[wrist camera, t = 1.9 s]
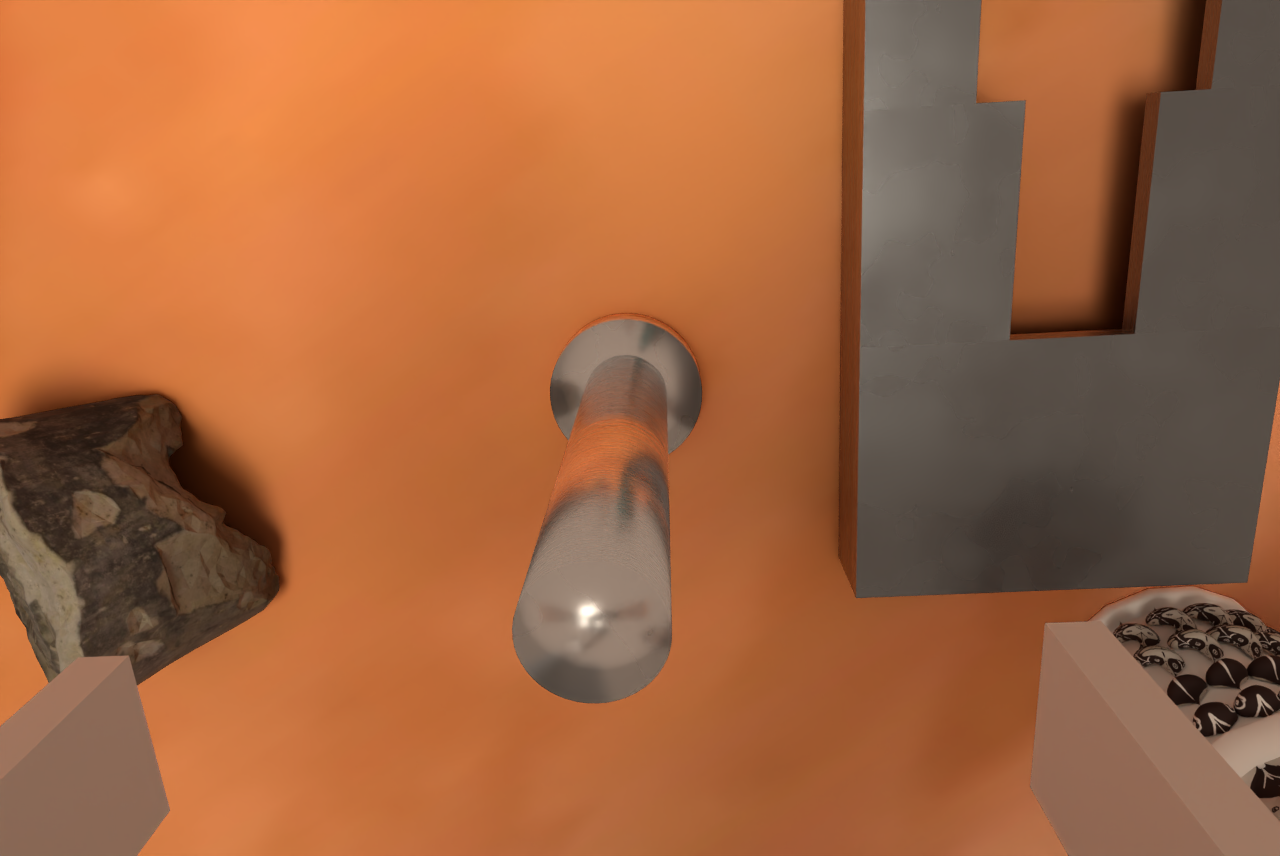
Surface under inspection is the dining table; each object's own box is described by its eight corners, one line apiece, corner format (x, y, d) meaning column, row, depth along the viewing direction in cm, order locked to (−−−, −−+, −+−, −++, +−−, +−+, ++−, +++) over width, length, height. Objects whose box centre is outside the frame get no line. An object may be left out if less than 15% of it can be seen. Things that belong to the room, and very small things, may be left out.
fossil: (-95, 477, 33) (-241, 502, 24) (141, 345, 36) (93, 321, 27) (95, 703, 36) (31, 806, 26) (303, 563, 38) (311, 612, 29)
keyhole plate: (1193, 542, 33) (1247, 582, 30) (838, 557, 34) (856, 597, 31) (1309, -300, 26) (1397, -360, 22) (846, -264, 26) (870, -318, 23)
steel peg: (703, 452, 33) (744, 754, 16) (560, 458, 33) (462, 764, 17) (697, 309, 31) (737, 489, 15) (547, 317, 31) (425, 503, 15)
